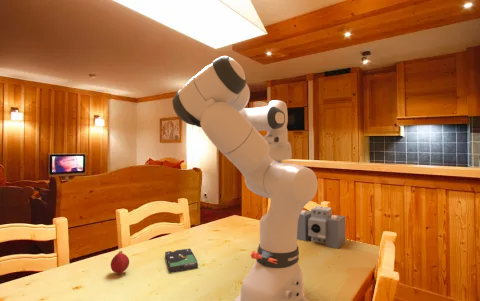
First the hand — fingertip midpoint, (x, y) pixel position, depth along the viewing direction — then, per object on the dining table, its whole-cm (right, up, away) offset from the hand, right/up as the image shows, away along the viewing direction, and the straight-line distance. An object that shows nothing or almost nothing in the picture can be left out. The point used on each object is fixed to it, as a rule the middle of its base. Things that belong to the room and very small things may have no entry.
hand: (277, 170), depth 112 cm
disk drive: (-39, -35, -13) cm, 54 cm away
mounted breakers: (+22, -34, +10) cm, 41 cm away
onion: (-58, -34, -22) cm, 71 cm away
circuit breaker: (+21, -34, +8) cm, 41 cm away
